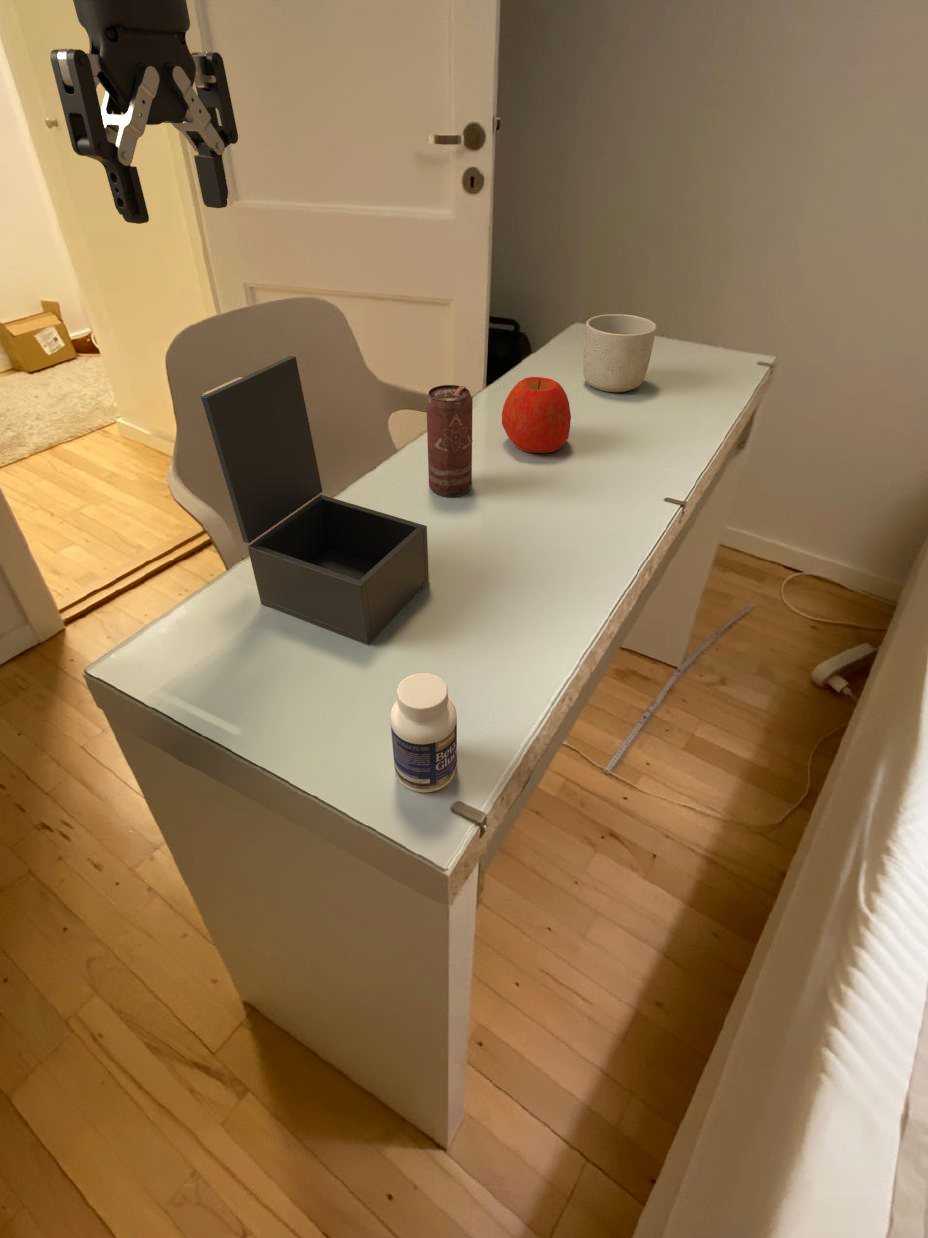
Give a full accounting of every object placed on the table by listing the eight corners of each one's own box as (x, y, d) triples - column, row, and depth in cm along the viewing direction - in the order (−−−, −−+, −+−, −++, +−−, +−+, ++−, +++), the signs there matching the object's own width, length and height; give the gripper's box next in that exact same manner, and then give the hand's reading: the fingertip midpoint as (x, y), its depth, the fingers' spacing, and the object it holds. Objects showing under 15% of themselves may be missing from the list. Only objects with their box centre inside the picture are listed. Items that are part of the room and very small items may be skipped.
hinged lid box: (429, 582, 80) (426, 525, 75) (367, 645, 71) (361, 586, 66) (328, 549, 85) (320, 494, 80) (260, 604, 77) (246, 546, 72)
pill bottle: (445, 801, 57) (443, 722, 50) (385, 786, 58) (376, 707, 52) (464, 752, 61) (465, 673, 54) (408, 738, 62) (402, 660, 55)
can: (480, 483, 98) (482, 388, 90) (456, 502, 94) (456, 404, 85) (445, 472, 101) (443, 379, 92) (420, 490, 97) (416, 394, 88)
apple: (487, 442, 109) (488, 376, 102) (536, 424, 114) (540, 360, 108) (533, 466, 103) (538, 397, 96) (583, 446, 108) (591, 379, 101)
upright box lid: (296, 356, 70) (256, 351, 73) (206, 397, 62) (165, 390, 64) (322, 491, 80) (287, 483, 82) (248, 543, 71) (211, 533, 74)
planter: (657, 394, 125) (669, 332, 118) (593, 399, 122) (601, 337, 115) (629, 370, 134) (638, 311, 127) (570, 375, 132) (576, 316, 125)
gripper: (160, -46, 52) (208, 199, 63) (-19, -73, 43) (73, 223, 53) (233, -52, 50) (271, 206, 60) (60, -81, 40) (140, 233, 50)
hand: (178, 214), depth 56 cm, fingers open, 8 cm apart
